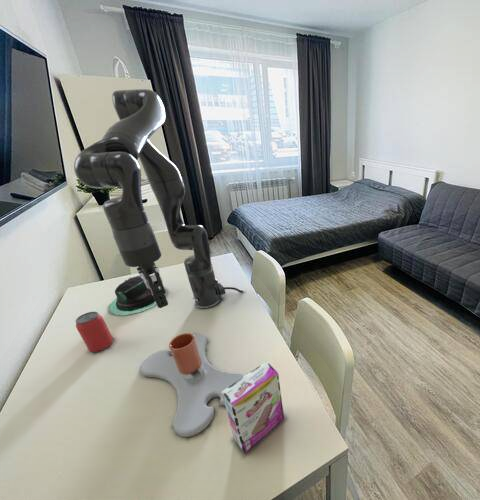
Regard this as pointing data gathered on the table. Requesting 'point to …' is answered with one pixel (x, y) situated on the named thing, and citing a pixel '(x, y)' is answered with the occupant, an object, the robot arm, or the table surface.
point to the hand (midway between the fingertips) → (159, 298)
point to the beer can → (94, 331)
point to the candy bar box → (254, 405)
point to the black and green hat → (132, 297)
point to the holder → (190, 387)
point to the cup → (186, 353)
